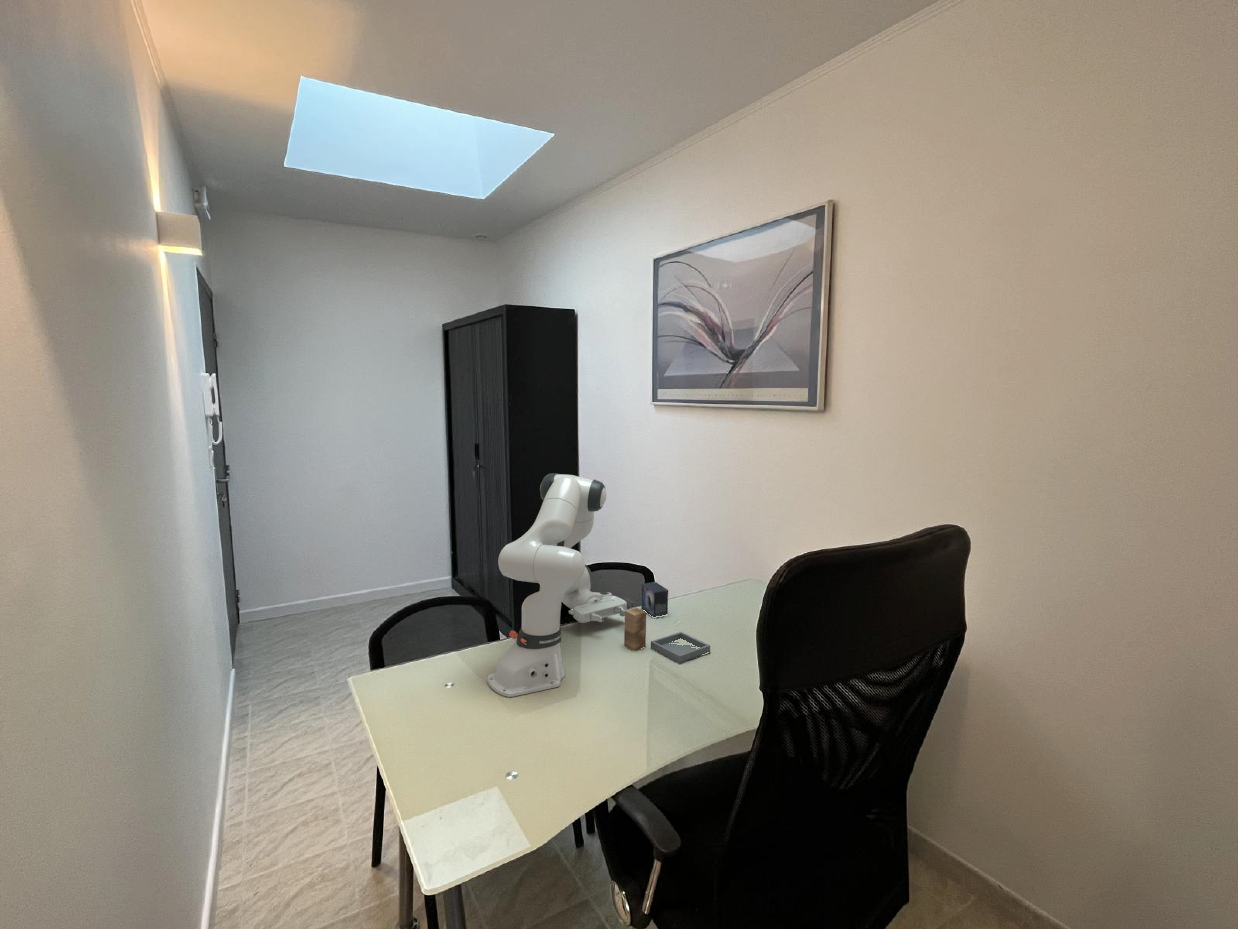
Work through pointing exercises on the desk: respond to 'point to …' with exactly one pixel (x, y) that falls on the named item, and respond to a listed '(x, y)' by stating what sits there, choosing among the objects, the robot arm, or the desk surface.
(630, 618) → the walnut block
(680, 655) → the tray
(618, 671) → the desk surface
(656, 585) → the small box
